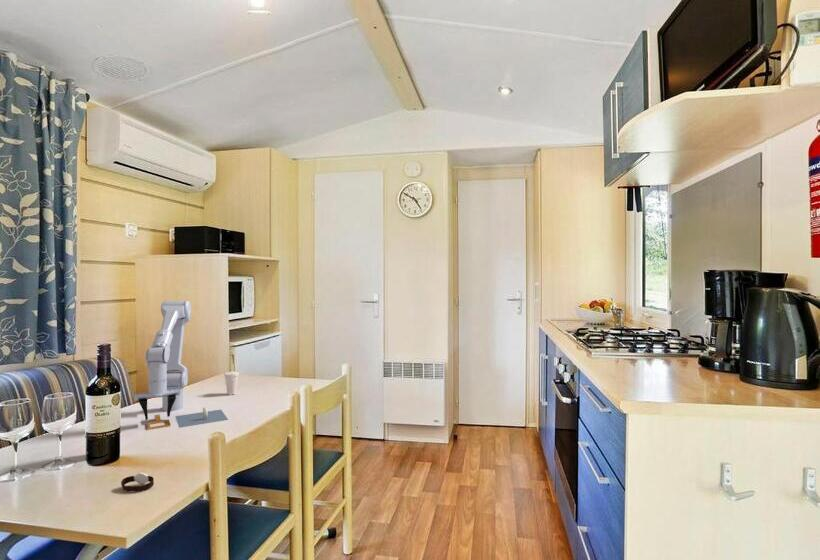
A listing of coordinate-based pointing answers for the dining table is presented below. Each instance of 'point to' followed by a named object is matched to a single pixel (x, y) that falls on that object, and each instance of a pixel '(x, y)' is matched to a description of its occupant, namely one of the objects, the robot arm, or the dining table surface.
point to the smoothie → (231, 381)
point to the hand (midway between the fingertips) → (157, 417)
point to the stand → (201, 418)
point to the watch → (140, 479)
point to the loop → (157, 420)
